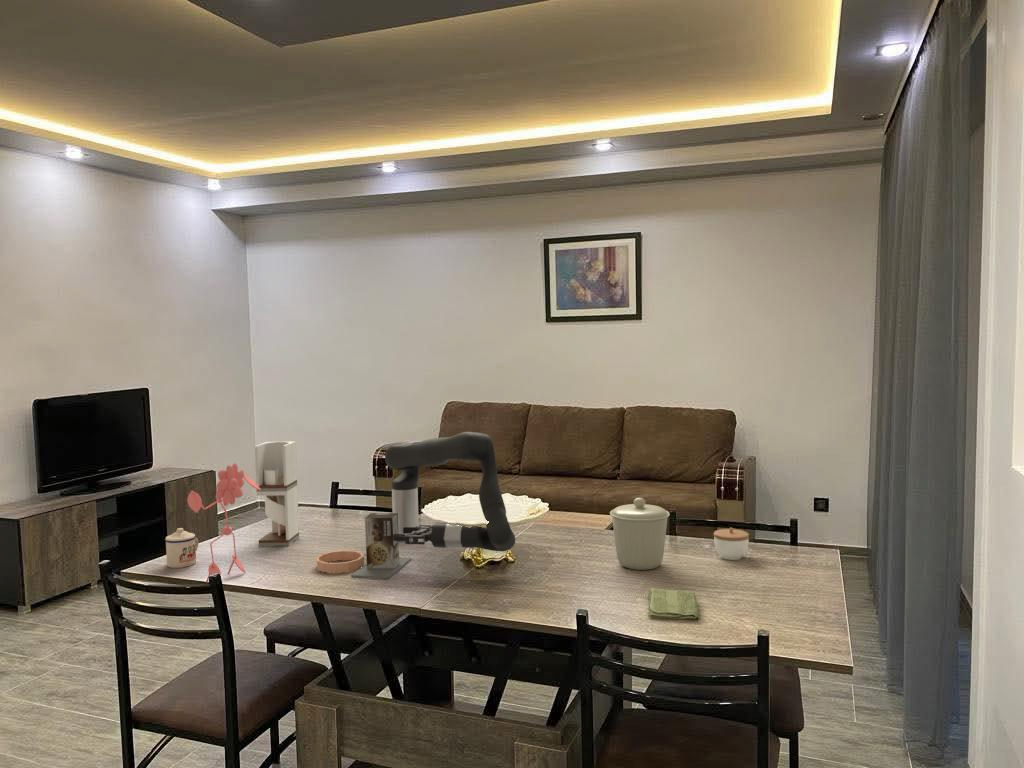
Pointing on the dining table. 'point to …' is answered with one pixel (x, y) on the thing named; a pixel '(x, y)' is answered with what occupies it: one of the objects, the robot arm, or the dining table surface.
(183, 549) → the teacup with lid
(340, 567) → the terracotta ring
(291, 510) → the display case
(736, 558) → the lidded jar
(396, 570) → the rubber mat
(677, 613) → the washcloth
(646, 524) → the canister
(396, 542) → the printed cardboard box
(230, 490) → the pink flower stick figure
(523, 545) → the dining table surface
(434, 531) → the robot arm
